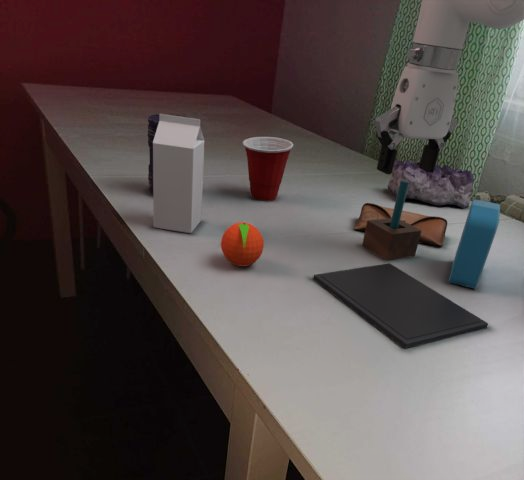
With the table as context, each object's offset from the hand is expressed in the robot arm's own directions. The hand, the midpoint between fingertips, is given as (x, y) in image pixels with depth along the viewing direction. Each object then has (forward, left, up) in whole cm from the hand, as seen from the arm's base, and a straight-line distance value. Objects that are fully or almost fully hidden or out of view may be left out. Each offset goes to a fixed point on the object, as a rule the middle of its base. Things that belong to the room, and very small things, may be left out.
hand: (405, 171), depth 93 cm
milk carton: (+33, -22, -15) cm, 42 cm away
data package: (-7, +13, -15) cm, 21 cm away
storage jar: (+27, -41, -15) cm, 51 cm away
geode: (-33, -24, -15) cm, 43 cm away
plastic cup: (+8, -34, -15) cm, 38 cm away
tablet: (+13, +17, -15) cm, 26 cm away
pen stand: (0, 0, -15) cm, 15 cm away
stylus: (0, 0, -15) cm, 15 cm away
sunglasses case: (-9, -7, -15) cm, 19 cm away
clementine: (+30, -2, -15) cm, 33 cm away
